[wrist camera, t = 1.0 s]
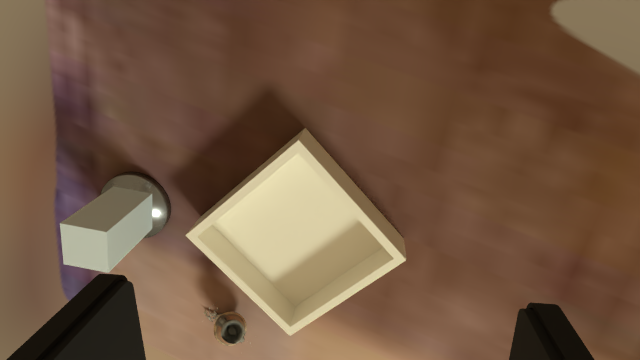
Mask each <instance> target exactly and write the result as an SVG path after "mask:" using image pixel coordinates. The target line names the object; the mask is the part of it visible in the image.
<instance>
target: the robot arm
mask: <svg viewBox="0 0 640 360" xmlns="http://www.w3.org/2000/svg"><path fill="white" fill-rule="evenodd" d="M7 360H146V357H145V351H144V346H143V340H142V334H141V328H140V322H139V316H138V311H137V305H136V299H135V293H134V287H133V284H132V283H131V282H129V281H128V280H127V278H126V277H125V276H123V275H114V274H99V275H98V276H96V277H95V278H94V279H93V280H92V281H91V282H90V283H89V284H88V285H86V286H85V287H84V288H83V289H82V290H81V291H80V292H79V293H78V294H77V295H76V296H75V297H74V298H72V299H71V300H70V301H69V302H68V303H67V304H66V305H65V306H64V307H63V308H62V309H61V310H60V311H59V312H58V313H56V314H55V315H54V316H53V317H52V318H51V319H50V320H49V321H48V322H47V323H46V324H44V325H43V326H42V327H41V328H40V329H39V330H38V331H37V332H36V333H35V334H34V335H33V336H31V337H30V339H28V340H27V341H26V342H25V343H24V344H23V345H22V346H21V347H20V348H19V349H17V350H16V351H15V352H14V353H13V354H12V355H11V356H10V357H9V358H8V359H7ZM509 360H594V358H593V357H592V355H591V354H590V352H589V351H588V349H587V348H586V346H585V345H584V343H583V342H582V340H581V339H580V337H579V336H578V334H577V333H576V331H575V330H574V328H573V327H572V325H571V324H570V322H569V321H568V319H567V318H566V316H565V314H564V313H563V311H562V310H561V308H560V307H559V306H558V305H555V304H542V303H529V304H528V306H527V308H526V309H520V310H519V312H518V317H517V322H516V327H515V332H514V337H513V342H512V347H511V352H510V357H509Z"/></svg>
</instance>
